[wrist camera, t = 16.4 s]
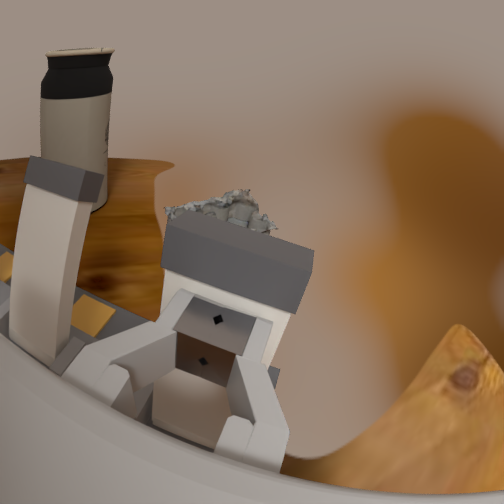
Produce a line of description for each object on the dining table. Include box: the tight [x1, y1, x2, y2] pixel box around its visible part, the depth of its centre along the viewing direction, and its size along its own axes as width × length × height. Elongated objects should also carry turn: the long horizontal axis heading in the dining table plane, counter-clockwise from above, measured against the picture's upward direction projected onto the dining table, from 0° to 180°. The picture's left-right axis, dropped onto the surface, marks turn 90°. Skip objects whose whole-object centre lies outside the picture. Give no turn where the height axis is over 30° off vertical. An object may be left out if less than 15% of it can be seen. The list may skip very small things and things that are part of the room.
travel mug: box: [40, 48, 115, 212], centre depth 29 cm, size 8×8×18 cm
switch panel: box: [0, 244, 280, 453], centre depth 15 cm, size 14×27×5 cm, turn 75°
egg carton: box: [165, 189, 277, 235], centre depth 33 cm, size 11×8×4 cm
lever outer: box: [152, 210, 314, 449], centre depth 12 cm, size 2×4×11 cm, turn 75°
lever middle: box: [9, 156, 105, 367], centre depth 14 cm, size 2×4×11 cm, turn 75°
